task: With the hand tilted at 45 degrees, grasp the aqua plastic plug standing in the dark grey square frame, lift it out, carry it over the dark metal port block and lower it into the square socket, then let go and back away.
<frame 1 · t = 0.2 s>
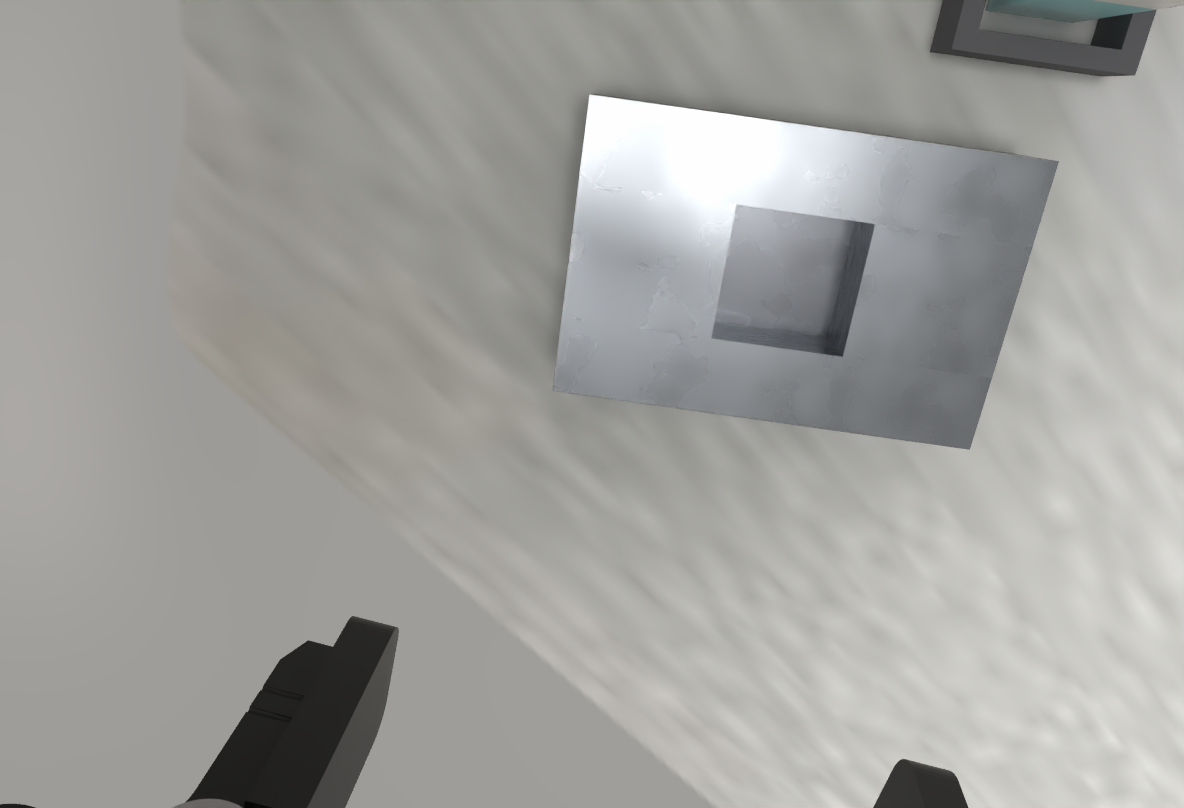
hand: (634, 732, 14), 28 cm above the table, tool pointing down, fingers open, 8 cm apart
port block: (775, 264, 39), on the table
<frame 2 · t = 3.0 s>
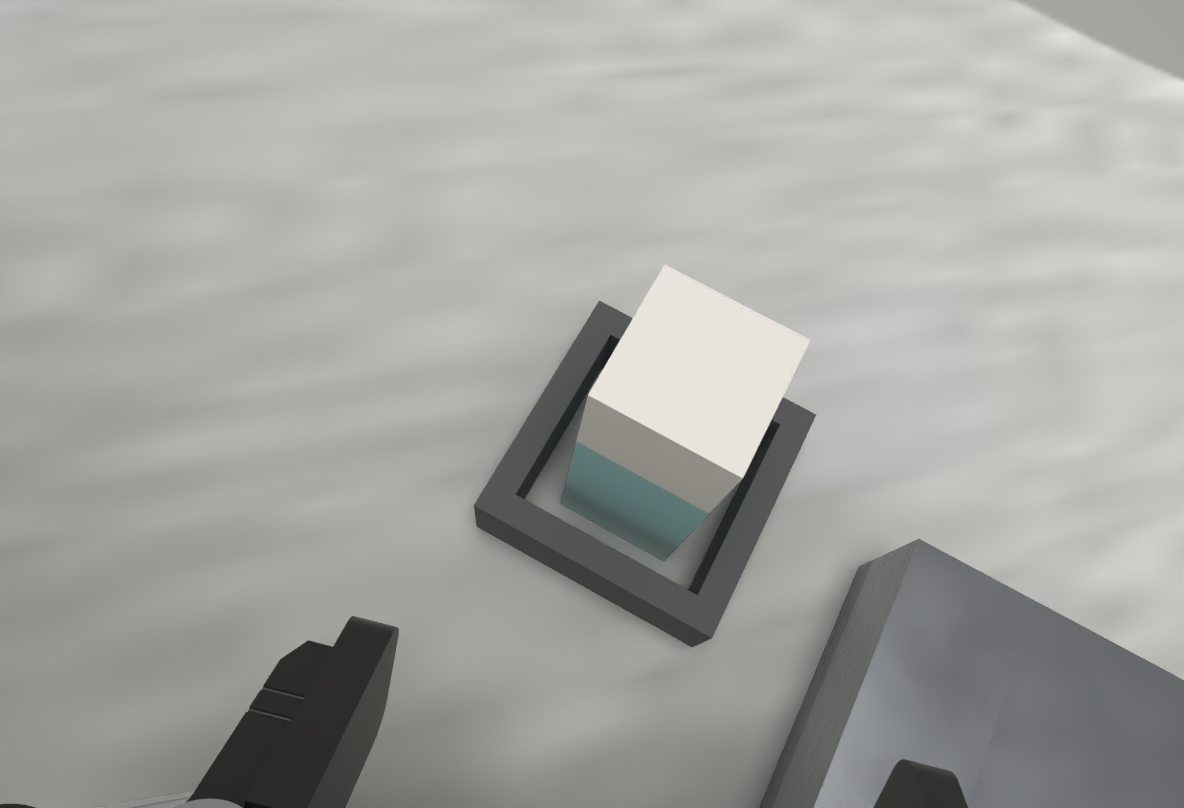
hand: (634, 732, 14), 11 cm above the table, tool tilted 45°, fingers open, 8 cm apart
plug: (664, 435, 22), in the dark grey square frame
dark grey square frame: (638, 482, 26), on the table
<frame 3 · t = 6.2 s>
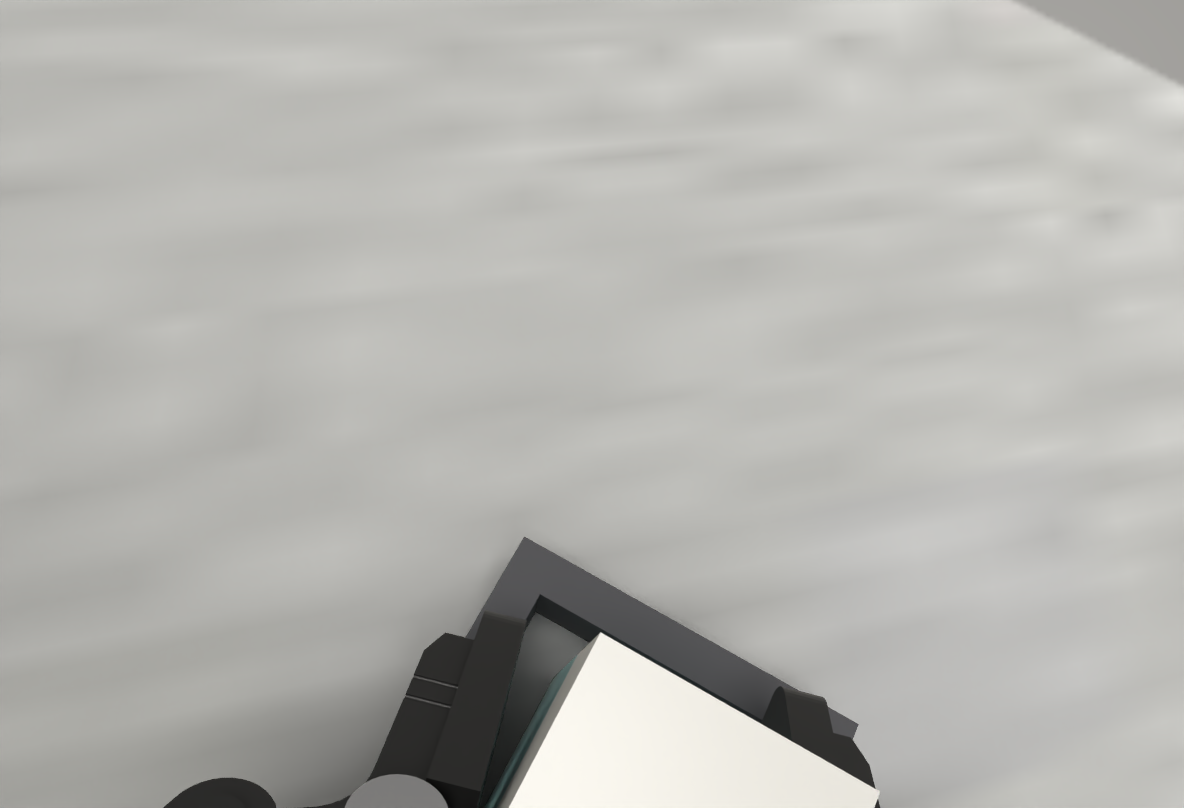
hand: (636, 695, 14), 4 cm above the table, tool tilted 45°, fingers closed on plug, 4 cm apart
dark grey square frame: (586, 801, 17), on the table
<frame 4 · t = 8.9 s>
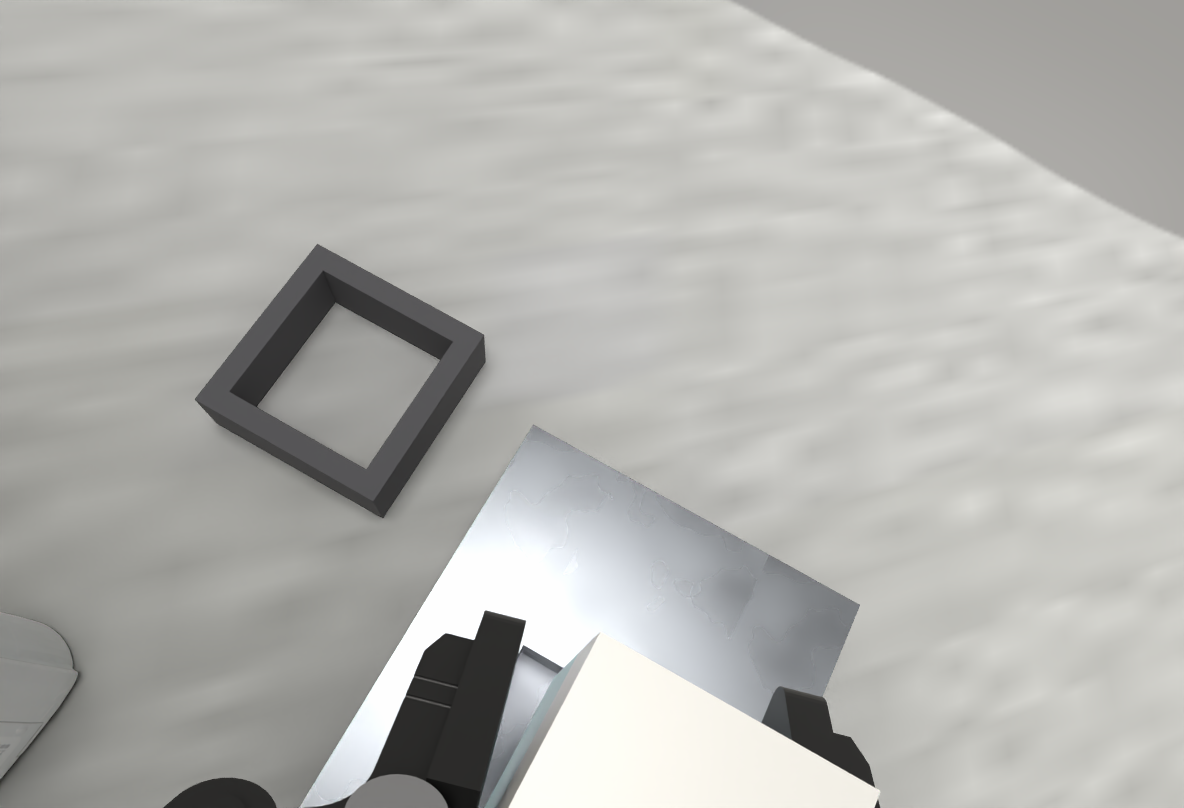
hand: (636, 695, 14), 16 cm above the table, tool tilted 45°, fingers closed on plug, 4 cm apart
dark grey square frame: (355, 391, 33), on the table
port block: (550, 772, 29), on the table
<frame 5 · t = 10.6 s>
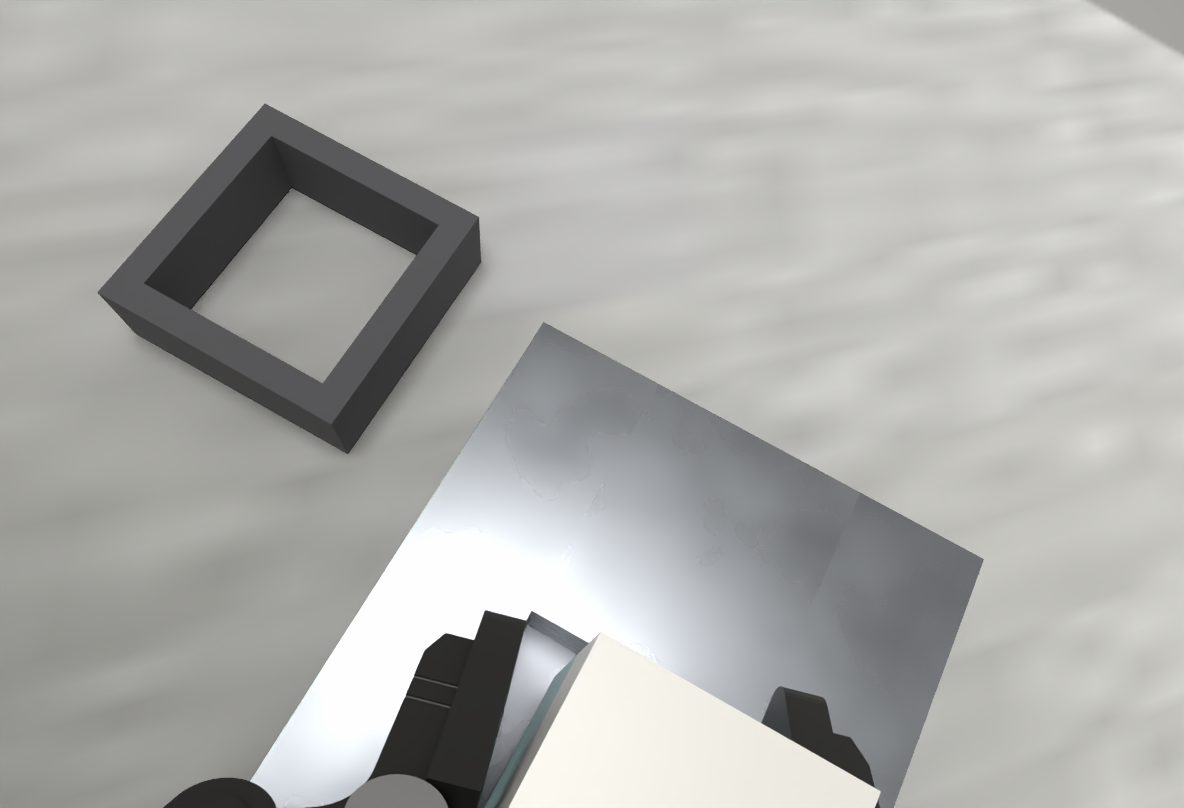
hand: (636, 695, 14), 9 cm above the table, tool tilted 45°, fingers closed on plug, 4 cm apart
dark grey square frame: (314, 296, 26), on the table
port block: (567, 783, 22), on the table
when the fingers open (6 cm above the table, at t = 12.1 s): plug stays where it is, resting on port block.
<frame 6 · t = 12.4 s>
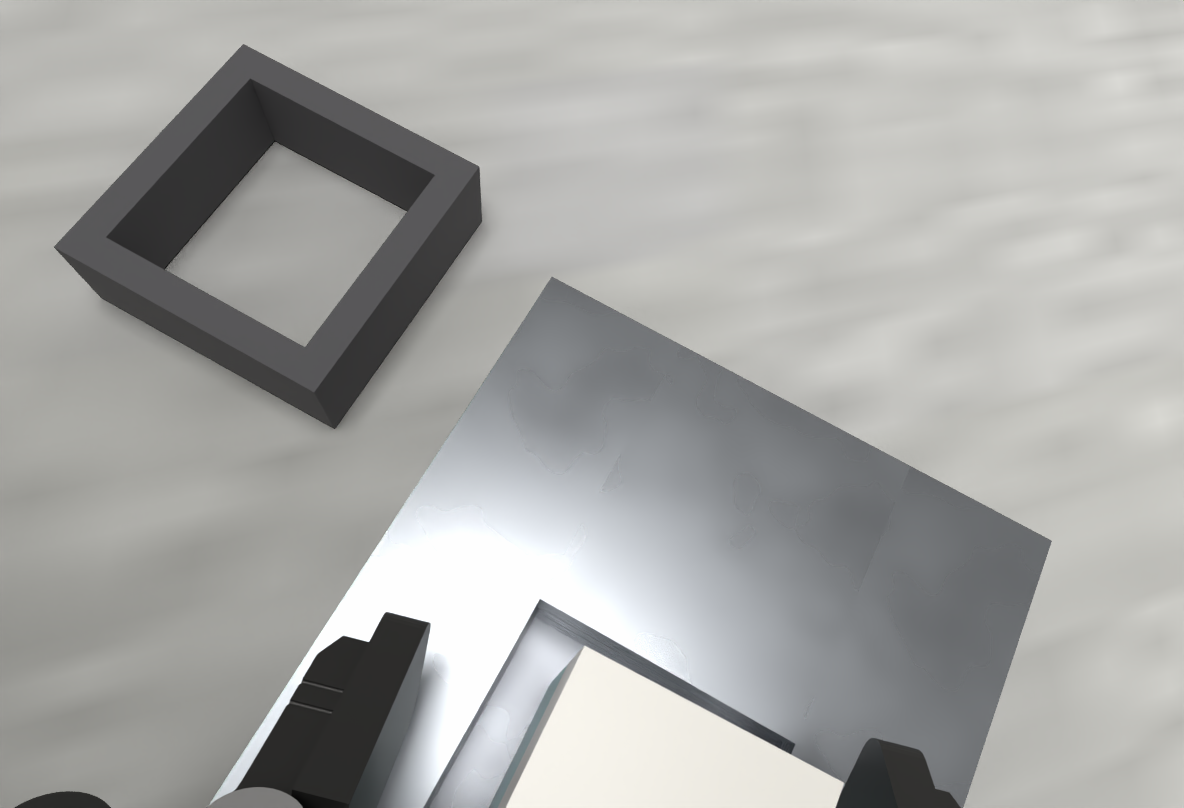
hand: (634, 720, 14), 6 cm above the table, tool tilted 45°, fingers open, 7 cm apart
dark grey square frame: (298, 257, 23), on the table
port block: (579, 795, 19), on the table
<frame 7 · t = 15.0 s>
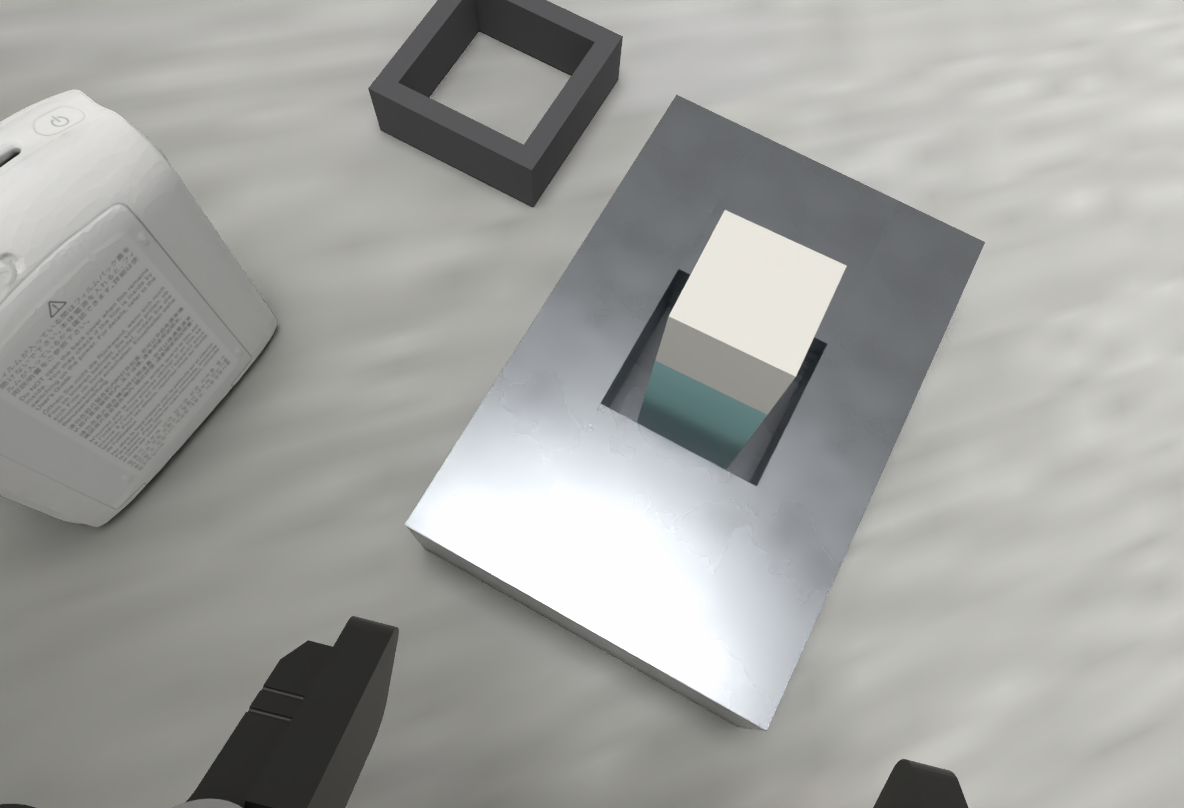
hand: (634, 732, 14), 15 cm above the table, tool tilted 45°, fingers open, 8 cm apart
plug: (725, 356, 26), in the port block, point 6 cm above the table
dark grey square frame: (501, 104, 36), on the table
photo printer: (164, 399, 31), on the table
port block: (696, 412, 32), on the table
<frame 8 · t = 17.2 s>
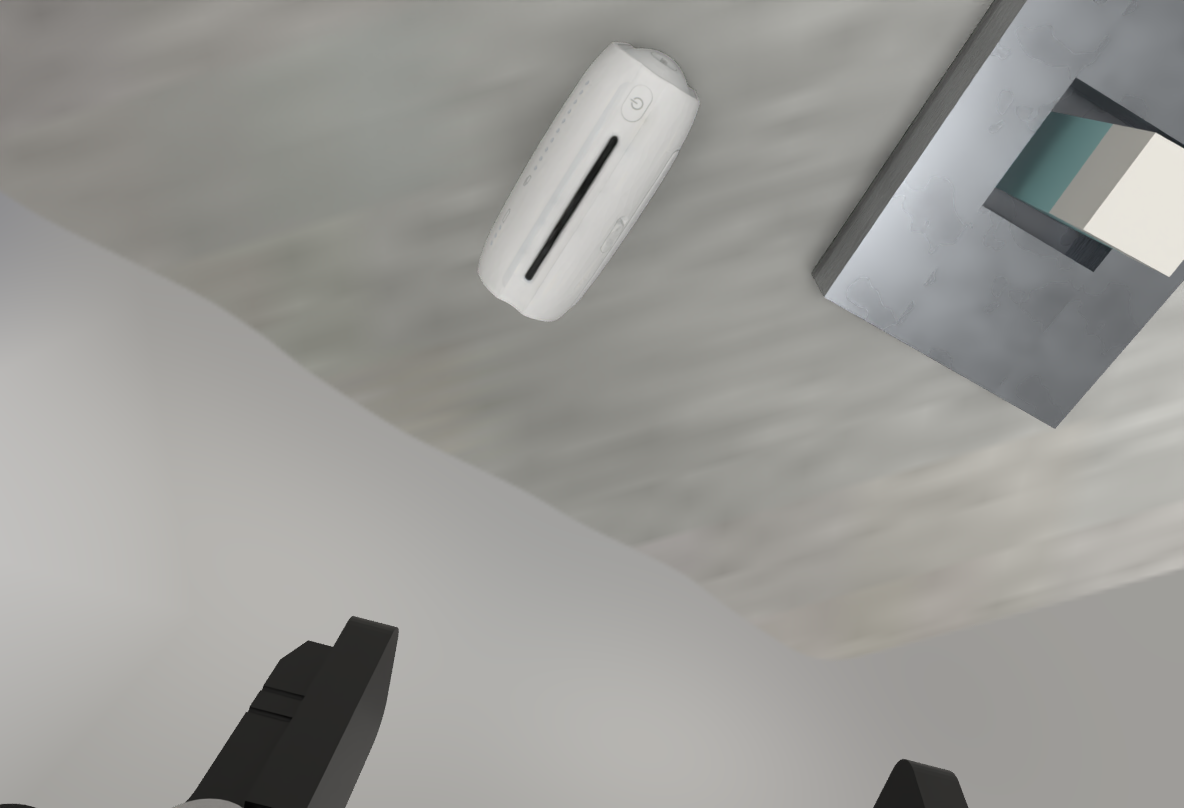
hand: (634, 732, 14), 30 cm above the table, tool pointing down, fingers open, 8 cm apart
plug: (1102, 185, 33), in the port block, point 6 cm above the table
photo printer: (606, 155, 40), on the table
port block: (1046, 164, 38), on the table
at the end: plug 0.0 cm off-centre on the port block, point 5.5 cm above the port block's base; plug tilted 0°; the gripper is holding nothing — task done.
